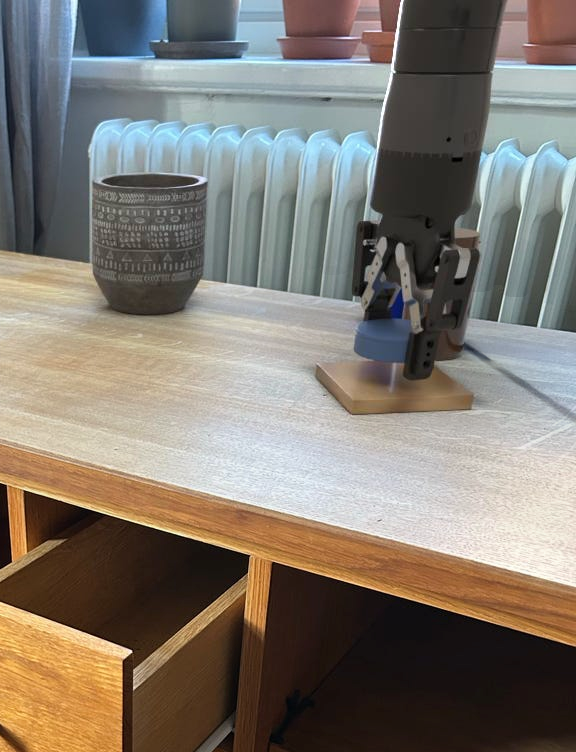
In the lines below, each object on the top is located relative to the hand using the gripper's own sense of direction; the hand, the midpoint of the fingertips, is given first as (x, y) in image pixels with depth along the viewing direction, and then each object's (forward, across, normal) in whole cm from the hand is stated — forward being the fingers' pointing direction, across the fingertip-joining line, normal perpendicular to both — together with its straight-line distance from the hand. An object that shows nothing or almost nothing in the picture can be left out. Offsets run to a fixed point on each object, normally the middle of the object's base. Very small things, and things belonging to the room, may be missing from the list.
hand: (393, 365), depth 80 cm
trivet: (+2, 0, 0) cm, 2 cm away
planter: (+2, -34, -10) cm, 36 cm away
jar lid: (-3, 0, 0) cm, 3 cm away
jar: (+2, -10, +10) cm, 14 cm away
